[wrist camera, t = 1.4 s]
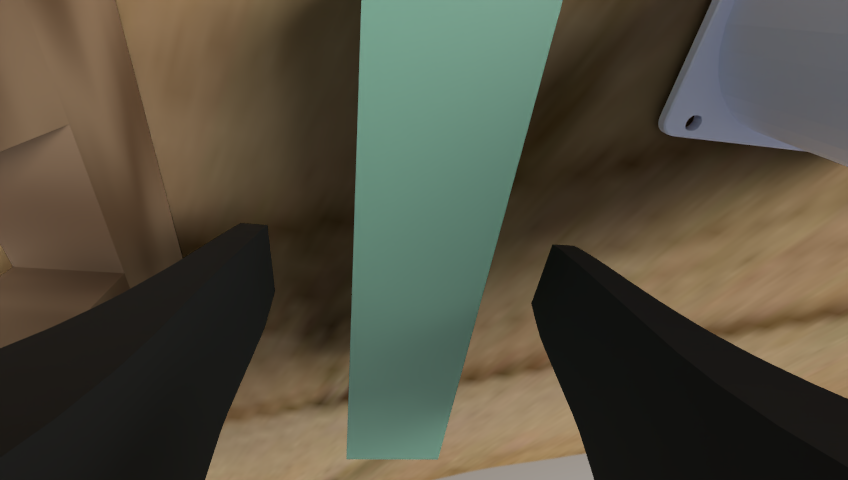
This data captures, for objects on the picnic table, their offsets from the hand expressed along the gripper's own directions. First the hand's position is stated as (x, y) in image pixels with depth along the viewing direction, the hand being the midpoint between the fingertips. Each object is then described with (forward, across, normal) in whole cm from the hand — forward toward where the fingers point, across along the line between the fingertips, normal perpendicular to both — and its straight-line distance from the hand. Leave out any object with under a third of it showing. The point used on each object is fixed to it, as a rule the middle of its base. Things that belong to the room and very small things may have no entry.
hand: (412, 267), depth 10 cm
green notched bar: (+5, 0, 0) cm, 5 cm away
